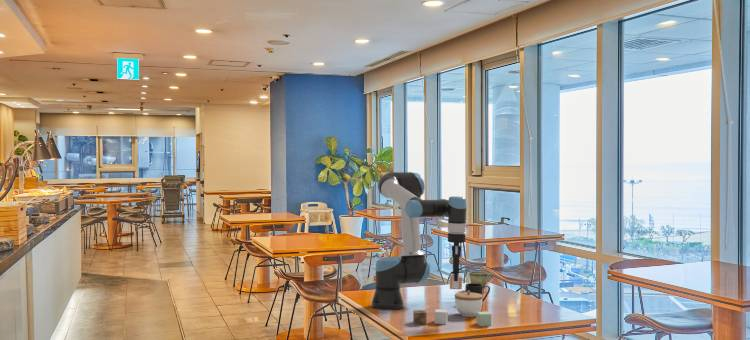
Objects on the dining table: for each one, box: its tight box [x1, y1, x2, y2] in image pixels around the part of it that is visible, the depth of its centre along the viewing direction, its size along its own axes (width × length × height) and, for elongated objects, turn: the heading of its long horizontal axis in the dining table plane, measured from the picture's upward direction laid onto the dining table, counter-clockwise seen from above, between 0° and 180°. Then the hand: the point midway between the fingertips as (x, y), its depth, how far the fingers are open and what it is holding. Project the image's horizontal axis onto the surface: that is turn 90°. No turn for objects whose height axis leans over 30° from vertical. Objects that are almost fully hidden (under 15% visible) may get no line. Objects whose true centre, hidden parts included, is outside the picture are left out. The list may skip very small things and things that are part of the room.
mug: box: [465, 283, 491, 304], centre depth 312 cm, size 8×12×10 cm
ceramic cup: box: [468, 270, 494, 292], centre depth 347 cm, size 13×10×10 cm
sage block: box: [475, 311, 492, 327], centre depth 271 cm, size 5×5×5 cm
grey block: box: [434, 308, 449, 325], centre depth 274 cm, size 5×5×5 cm
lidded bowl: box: [454, 290, 484, 318], centre depth 288 cm, size 13×13×11 cm
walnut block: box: [412, 309, 427, 326], centre depth 272 cm, size 5×5×5 cm
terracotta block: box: [449, 274, 463, 290], centre depth 272 cm, size 5×5×5 cm
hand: (455, 286), depth 273 cm, fingers closed on terracotta block, 5 cm apart
